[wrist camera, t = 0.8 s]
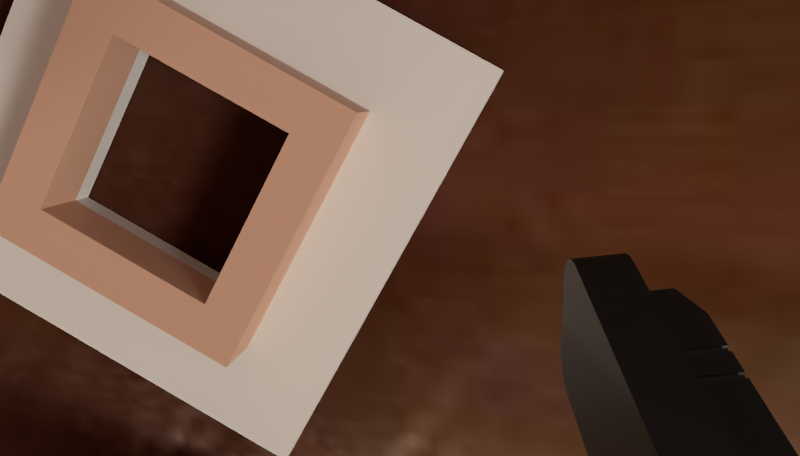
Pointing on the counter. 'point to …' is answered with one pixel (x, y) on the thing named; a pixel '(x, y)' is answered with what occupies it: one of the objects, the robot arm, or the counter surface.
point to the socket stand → (274, 208)
